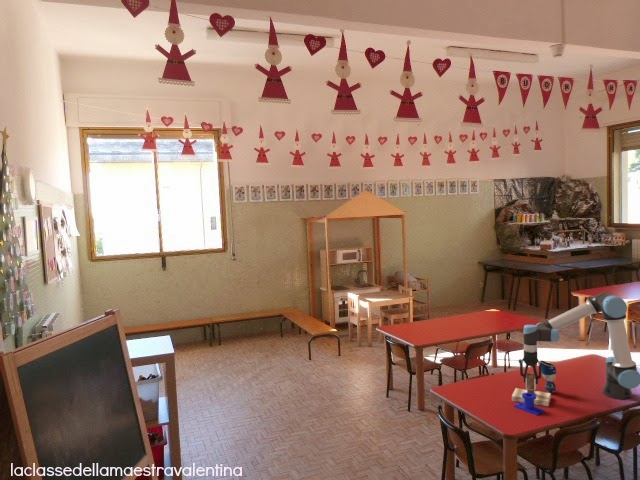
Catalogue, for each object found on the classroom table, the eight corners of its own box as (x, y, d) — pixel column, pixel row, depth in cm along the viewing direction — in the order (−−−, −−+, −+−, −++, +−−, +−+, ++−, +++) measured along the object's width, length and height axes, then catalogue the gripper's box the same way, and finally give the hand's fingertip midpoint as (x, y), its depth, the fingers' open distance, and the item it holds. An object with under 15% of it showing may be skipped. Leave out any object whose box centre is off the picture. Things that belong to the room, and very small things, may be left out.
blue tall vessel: (559, 396, 291) (559, 364, 290) (543, 396, 293) (542, 364, 292) (553, 389, 304) (553, 358, 303) (537, 388, 306) (537, 358, 305)
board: (550, 398, 290) (550, 393, 290) (548, 406, 278) (548, 401, 278) (515, 392, 301) (515, 388, 300) (511, 400, 289) (511, 395, 289)
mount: (514, 407, 280) (513, 392, 280) (522, 404, 284) (521, 389, 283) (537, 415, 267) (536, 400, 267) (545, 412, 271) (544, 397, 270)
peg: (535, 392, 290) (534, 373, 289) (534, 395, 286) (533, 375, 286) (527, 391, 292) (527, 372, 291) (526, 393, 289) (526, 374, 288)
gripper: (546, 350, 286) (547, 388, 288) (516, 347, 295) (516, 384, 297) (545, 354, 280) (545, 392, 281) (514, 350, 289) (514, 388, 290)
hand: (530, 388), depth 289 cm, fingers closed on peg, 4 cm apart
